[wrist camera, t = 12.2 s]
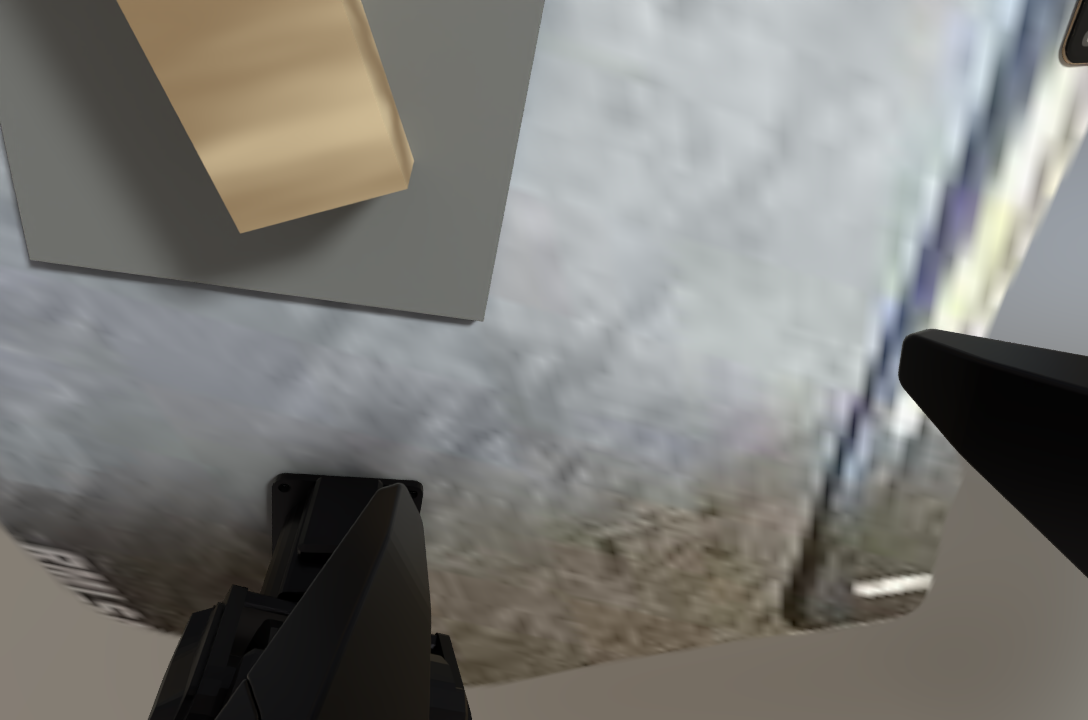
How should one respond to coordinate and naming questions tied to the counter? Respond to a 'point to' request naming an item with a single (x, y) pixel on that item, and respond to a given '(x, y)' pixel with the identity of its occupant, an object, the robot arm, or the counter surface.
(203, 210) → the mat
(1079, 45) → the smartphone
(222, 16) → the block
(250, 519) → the counter surface
